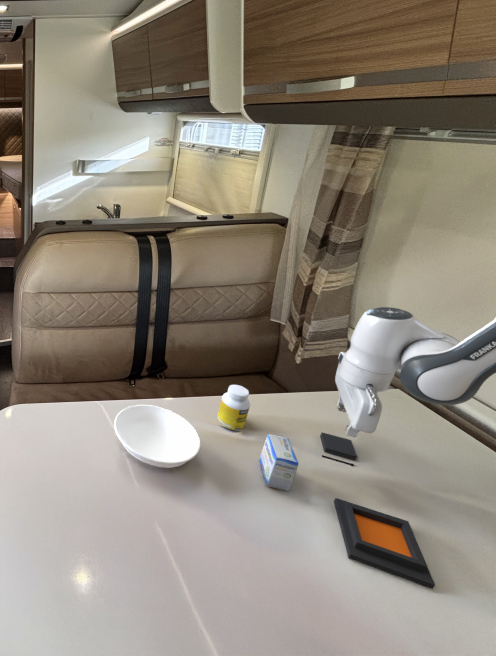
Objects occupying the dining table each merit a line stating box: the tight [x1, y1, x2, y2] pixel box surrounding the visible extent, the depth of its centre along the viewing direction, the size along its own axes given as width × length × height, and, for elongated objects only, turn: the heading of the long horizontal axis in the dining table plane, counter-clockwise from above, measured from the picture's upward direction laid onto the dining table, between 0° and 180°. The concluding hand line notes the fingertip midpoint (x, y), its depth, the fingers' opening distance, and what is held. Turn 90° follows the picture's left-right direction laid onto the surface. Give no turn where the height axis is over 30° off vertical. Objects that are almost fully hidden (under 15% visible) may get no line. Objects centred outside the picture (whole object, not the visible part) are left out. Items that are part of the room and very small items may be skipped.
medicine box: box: [258, 433, 299, 492], centre depth 97 cm, size 8×4×9 cm, turn 161°
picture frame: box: [333, 497, 436, 590], centre depth 84 cm, size 12×14×3 cm
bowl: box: [113, 404, 201, 469], centre depth 105 cm, size 20×20×6 cm
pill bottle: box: [216, 384, 251, 434], centre depth 112 cm, size 6×6×12 cm
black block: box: [319, 431, 358, 467], centre depth 104 cm, size 6×6×3 cm
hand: (345, 421), depth 102 cm, fingers open, 8 cm apart
